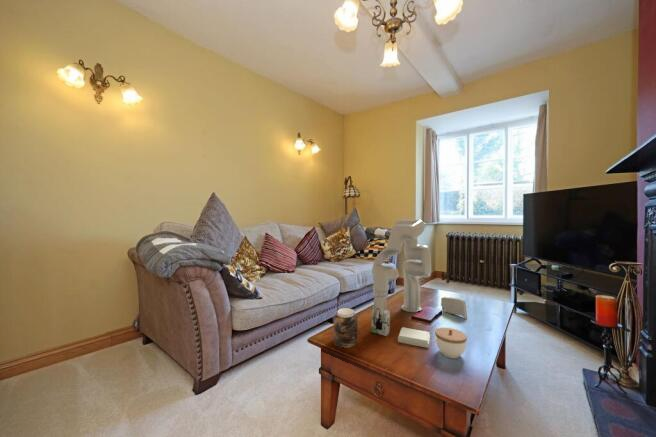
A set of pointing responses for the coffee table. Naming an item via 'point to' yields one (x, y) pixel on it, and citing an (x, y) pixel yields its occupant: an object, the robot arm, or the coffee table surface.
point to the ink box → (385, 323)
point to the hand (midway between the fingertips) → (380, 326)
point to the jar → (345, 328)
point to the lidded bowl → (450, 342)
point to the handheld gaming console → (454, 306)
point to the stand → (414, 337)
